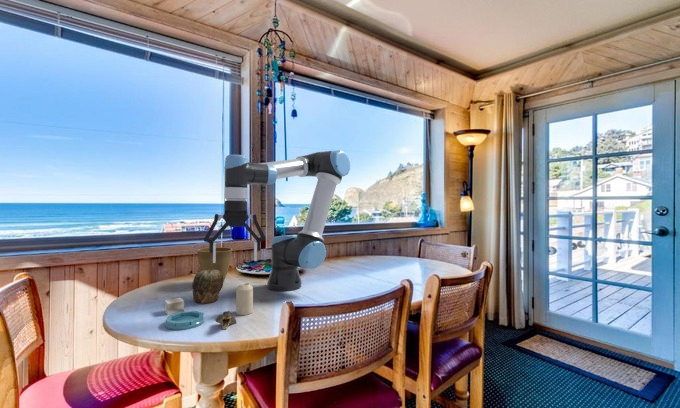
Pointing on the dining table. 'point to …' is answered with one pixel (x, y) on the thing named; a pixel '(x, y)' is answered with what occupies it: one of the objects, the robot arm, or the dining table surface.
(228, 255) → the plant pot
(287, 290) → the robot arm
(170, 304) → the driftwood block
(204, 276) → the brown rough lump
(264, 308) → the dining table surface
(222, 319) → the shark head
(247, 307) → the candle
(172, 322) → the candle dish
